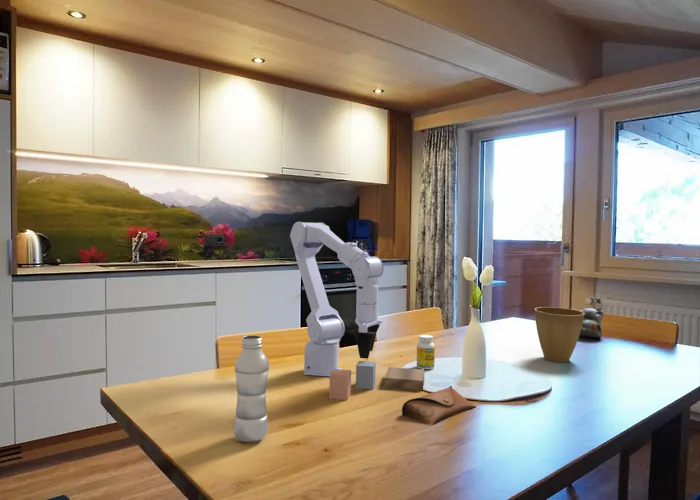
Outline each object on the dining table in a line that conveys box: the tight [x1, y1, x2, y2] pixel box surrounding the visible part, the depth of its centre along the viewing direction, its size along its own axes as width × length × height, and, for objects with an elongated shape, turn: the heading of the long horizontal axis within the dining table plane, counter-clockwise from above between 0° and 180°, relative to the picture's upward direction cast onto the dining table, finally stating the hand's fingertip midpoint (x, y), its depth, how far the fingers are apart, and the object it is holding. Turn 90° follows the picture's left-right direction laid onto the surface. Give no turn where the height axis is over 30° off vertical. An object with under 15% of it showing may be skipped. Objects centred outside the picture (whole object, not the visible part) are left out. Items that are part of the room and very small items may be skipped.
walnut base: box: [384, 366, 426, 391], centre depth 130 cm, size 10×10×3 cm
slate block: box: [355, 360, 377, 390], centre depth 127 cm, size 4×4×6 cm
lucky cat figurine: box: [579, 307, 604, 340], centre depth 192 cm, size 15×12×14 cm
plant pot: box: [534, 306, 584, 363], centre depth 157 cm, size 15×15×16 cm
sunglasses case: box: [401, 385, 477, 427], centre depth 111 cm, size 18×7×7 cm, turn 133°
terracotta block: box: [328, 369, 352, 401], centre depth 119 cm, size 4×4×6 cm
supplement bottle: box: [416, 334, 436, 371], centre depth 145 cm, size 5×5×10 cm
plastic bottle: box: [232, 335, 270, 443], centre depth 94 cm, size 6×7×20 cm
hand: (366, 354), depth 127 cm, fingers open, 7 cm apart
